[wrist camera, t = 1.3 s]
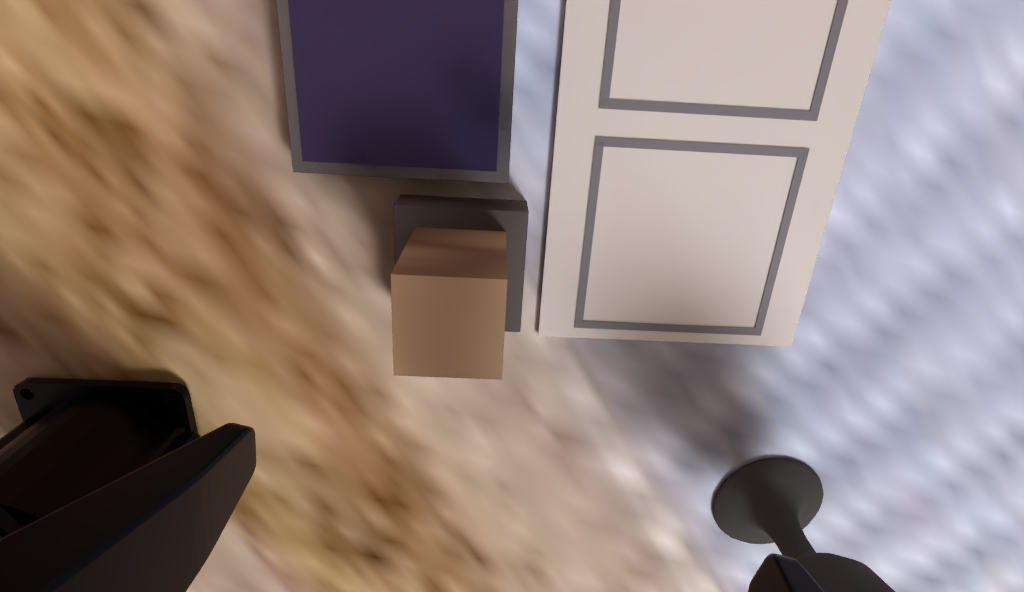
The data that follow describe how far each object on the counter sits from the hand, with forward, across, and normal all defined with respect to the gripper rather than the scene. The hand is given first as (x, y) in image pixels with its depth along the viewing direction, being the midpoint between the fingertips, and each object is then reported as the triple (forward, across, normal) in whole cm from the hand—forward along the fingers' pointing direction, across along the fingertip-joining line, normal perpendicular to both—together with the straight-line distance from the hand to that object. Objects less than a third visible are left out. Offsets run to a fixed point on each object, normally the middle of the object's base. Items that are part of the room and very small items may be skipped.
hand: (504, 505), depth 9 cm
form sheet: (+13, -4, -5) cm, 15 cm away
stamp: (+12, +3, +1) cm, 12 cm away
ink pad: (+12, +6, -6) cm, 14 cm away
